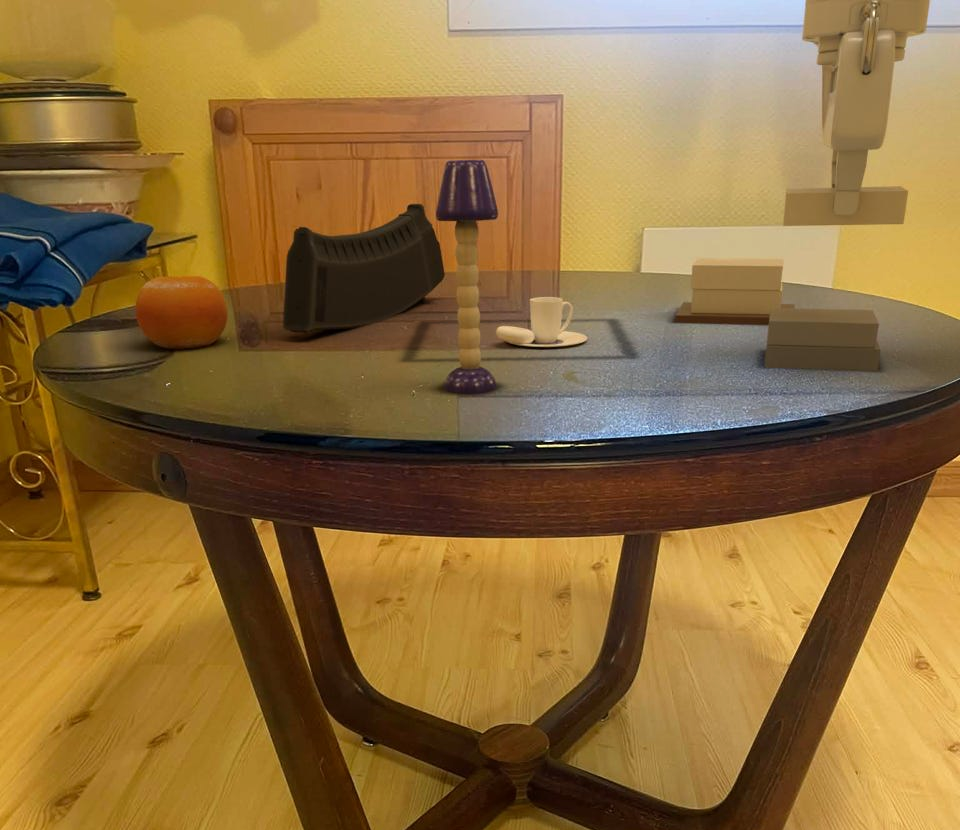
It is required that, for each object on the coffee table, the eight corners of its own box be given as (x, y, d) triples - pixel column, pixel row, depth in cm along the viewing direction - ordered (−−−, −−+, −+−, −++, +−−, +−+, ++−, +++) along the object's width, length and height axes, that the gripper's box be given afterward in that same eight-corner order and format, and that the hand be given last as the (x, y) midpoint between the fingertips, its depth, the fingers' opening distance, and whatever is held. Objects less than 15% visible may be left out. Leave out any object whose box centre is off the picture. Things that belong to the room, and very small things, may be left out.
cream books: (793, 313, 110) (799, 257, 108) (793, 327, 103) (800, 267, 100) (682, 311, 113) (686, 256, 111) (674, 324, 106) (678, 266, 103)
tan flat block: (896, 218, 83) (900, 186, 82) (903, 224, 78) (908, 190, 77) (783, 219, 86) (786, 188, 85) (783, 225, 81) (786, 193, 79)
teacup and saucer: (495, 352, 94) (495, 306, 92) (497, 336, 101) (496, 294, 99) (589, 351, 94) (591, 305, 92) (584, 335, 101) (585, 292, 99)
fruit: (236, 299, 104) (189, 235, 98) (248, 343, 98) (199, 278, 92) (167, 340, 105) (116, 279, 99) (175, 386, 99) (122, 324, 93)
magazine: (288, 250, 93) (424, 140, 113) (259, 249, 95) (398, 140, 114) (331, 413, 105) (448, 288, 124) (305, 410, 106) (425, 287, 125)
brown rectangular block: (870, 357, 89) (878, 309, 87) (876, 373, 83) (884, 323, 81) (765, 353, 91) (770, 307, 90) (764, 369, 85) (769, 321, 84)
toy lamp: (433, 387, 82) (424, 160, 75) (485, 380, 84) (481, 158, 76) (455, 399, 78) (448, 161, 71) (510, 392, 80) (509, 159, 72)
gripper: (927, -8, 66) (895, 221, 72) (897, 20, 83) (874, 202, 90) (825, -1, 67) (803, 222, 74) (818, 25, 85) (800, 203, 91)
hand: (842, 211), depth 82 cm, fingers closed on tan flat block, 6 cm apart
